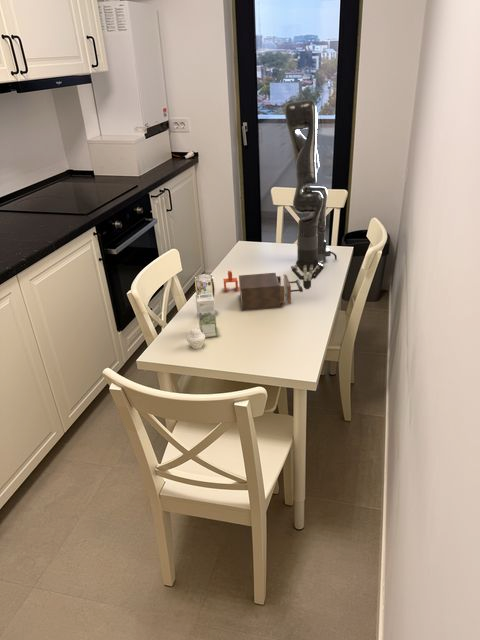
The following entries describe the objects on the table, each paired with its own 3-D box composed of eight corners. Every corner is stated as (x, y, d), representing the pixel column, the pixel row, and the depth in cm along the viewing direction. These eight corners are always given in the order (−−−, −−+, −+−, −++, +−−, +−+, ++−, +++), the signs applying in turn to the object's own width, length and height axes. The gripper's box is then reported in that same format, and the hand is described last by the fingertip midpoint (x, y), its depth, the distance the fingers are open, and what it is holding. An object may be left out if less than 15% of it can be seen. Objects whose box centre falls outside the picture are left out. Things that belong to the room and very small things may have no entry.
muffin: (190, 341, 171) (188, 323, 168) (207, 342, 171) (205, 324, 167) (186, 351, 166) (183, 332, 162) (204, 351, 165) (202, 333, 162)
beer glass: (220, 313, 188) (217, 276, 180) (207, 320, 184) (203, 283, 176) (208, 308, 192) (204, 272, 184) (194, 314, 188) (190, 278, 180)
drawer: (298, 290, 201) (298, 273, 197) (303, 302, 191) (303, 285, 188) (253, 293, 200) (252, 277, 196) (256, 306, 190) (255, 289, 186)
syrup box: (215, 328, 178) (211, 291, 171) (217, 336, 173) (214, 299, 166) (199, 331, 177) (195, 294, 170) (201, 339, 172) (197, 301, 165)
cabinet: (276, 293, 201) (275, 272, 197) (280, 307, 191) (279, 285, 186) (240, 296, 200) (238, 275, 196) (242, 310, 190) (241, 288, 185)
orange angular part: (237, 288, 207) (236, 269, 203) (238, 291, 205) (236, 272, 200) (224, 289, 207) (222, 270, 202) (224, 292, 204) (223, 273, 200)
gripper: (291, 250, 182) (291, 294, 191) (327, 248, 183) (325, 291, 192) (288, 244, 188) (288, 286, 197) (322, 241, 189) (321, 283, 198)
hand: (307, 288), depth 195 cm, fingers closed
